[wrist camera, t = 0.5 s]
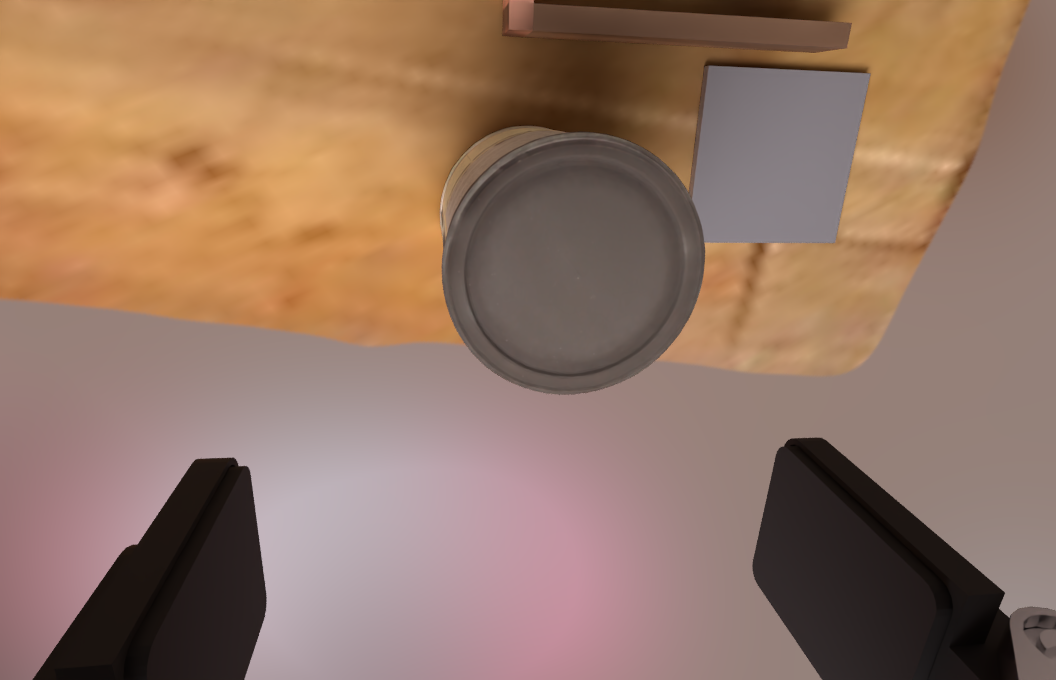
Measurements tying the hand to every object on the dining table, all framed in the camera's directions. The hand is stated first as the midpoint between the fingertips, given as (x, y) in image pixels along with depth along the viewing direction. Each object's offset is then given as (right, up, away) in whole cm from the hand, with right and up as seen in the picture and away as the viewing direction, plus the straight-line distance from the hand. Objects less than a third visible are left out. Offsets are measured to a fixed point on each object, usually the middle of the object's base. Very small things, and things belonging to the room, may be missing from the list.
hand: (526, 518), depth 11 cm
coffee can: (0, +11, +26) cm, 28 cm away
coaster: (+15, +14, +27) cm, 34 cm away
